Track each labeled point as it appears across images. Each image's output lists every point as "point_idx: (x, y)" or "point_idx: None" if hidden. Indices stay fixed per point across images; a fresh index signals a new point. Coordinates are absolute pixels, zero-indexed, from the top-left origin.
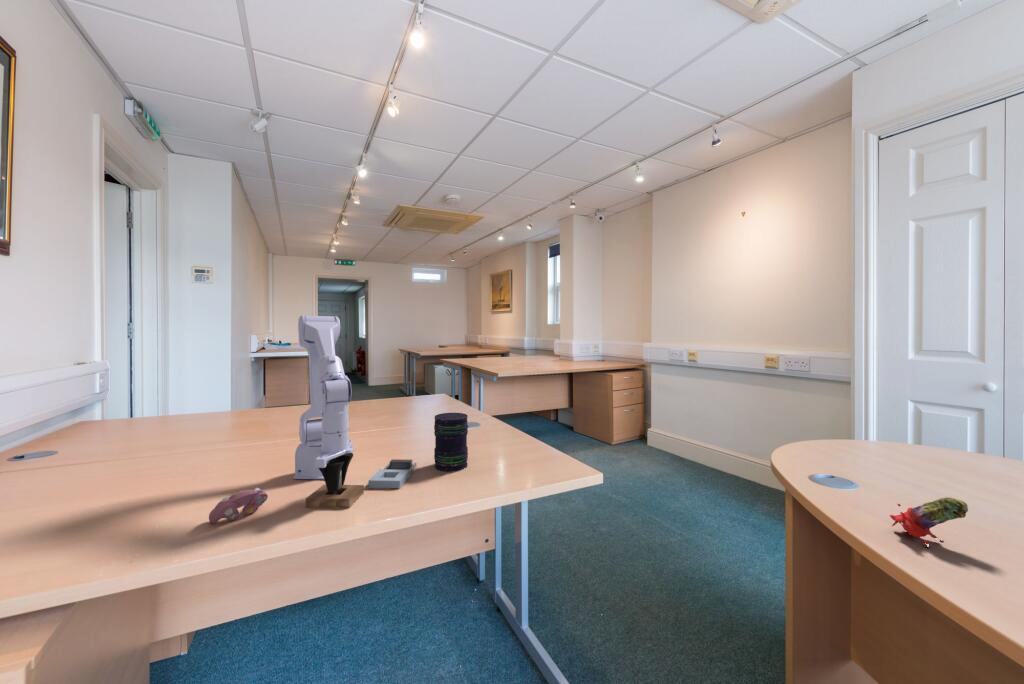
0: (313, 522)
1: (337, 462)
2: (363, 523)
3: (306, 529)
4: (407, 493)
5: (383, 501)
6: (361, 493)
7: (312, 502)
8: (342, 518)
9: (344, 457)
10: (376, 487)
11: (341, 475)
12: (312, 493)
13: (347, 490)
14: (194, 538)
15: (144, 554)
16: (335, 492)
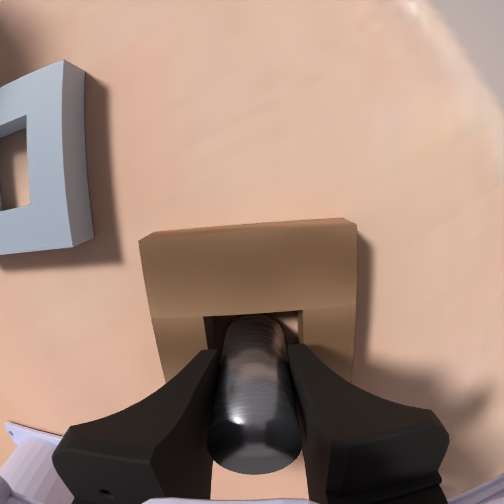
0: (462, 299)
1: (383, 474)
2: (462, 92)
3: (499, 290)
4: (140, 9)
5: (246, 71)
6: (183, 230)
7: None
8: (439, 198)
9: (173, 489)
10: (86, 194)
11: (245, 386)
12: None
13: (234, 301)
14: (464, 482)
15: None
16: (283, 348)
